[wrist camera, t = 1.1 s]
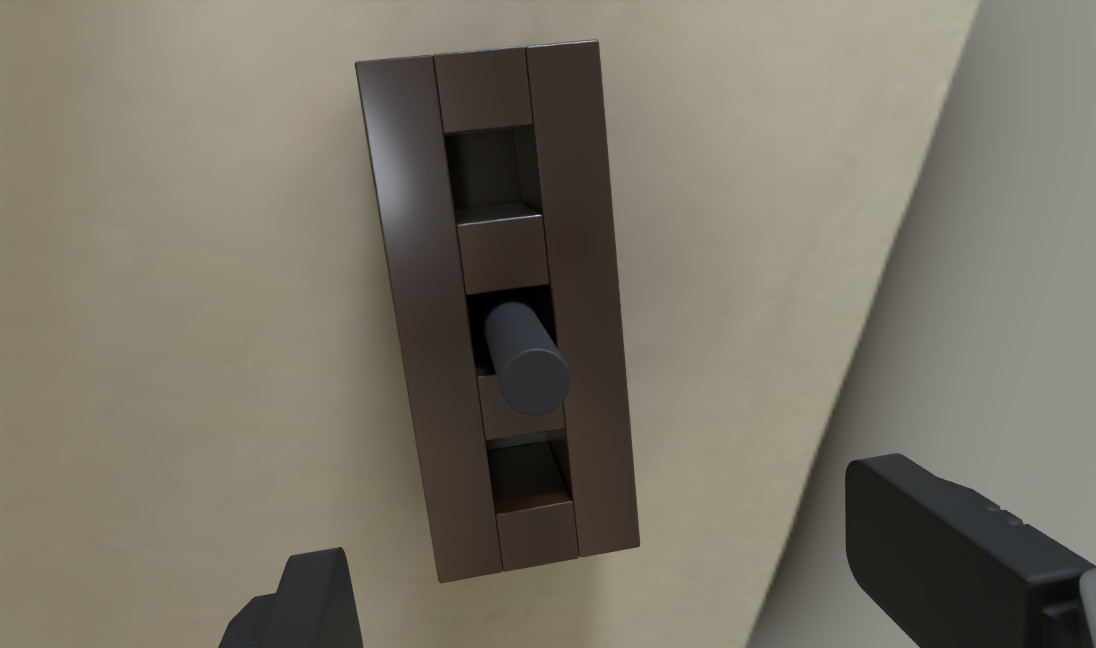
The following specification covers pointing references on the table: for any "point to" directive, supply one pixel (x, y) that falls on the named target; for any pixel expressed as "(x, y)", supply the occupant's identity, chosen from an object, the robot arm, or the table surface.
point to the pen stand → (495, 265)
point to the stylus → (523, 354)
